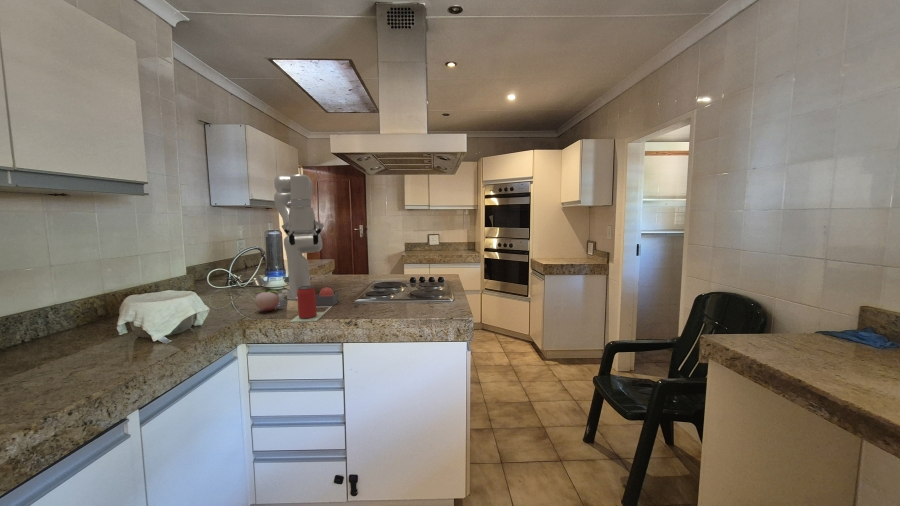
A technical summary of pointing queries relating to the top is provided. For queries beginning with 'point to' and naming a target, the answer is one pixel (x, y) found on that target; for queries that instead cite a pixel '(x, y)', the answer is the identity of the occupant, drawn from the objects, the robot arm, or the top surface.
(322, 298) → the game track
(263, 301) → the decorative fruit
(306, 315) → the beer can
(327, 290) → the dome
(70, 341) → the top surface
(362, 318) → the top surface
